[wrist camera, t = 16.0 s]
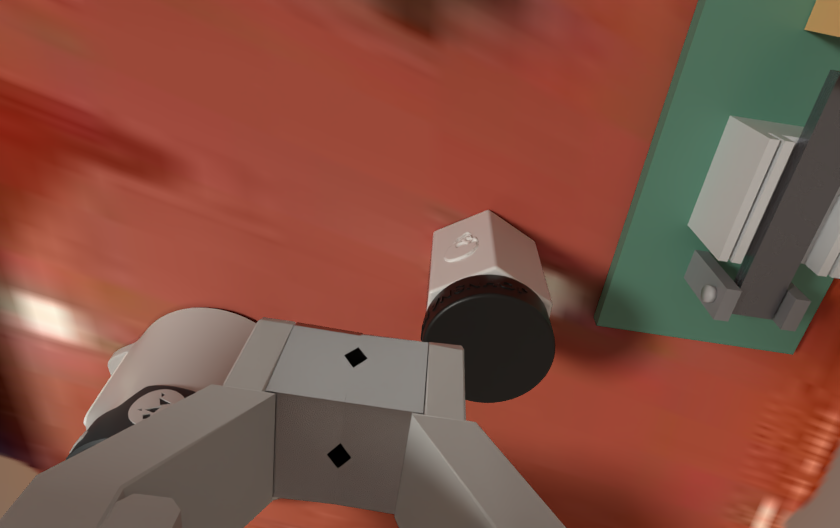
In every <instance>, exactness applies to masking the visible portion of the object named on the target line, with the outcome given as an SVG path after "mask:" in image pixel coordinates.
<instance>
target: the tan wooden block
mask: <svg viewBox="0 0 840 528" xmlns="http://www.w3.org/2000/svg"><path fill="white" fill-rule="evenodd" d="M804 30H808V31H813V32H818V33H822V34H827V35H832V36H837V37H840V0H816V3H815V5H814V7H813V10H812V12H811V15H810V17H809V19H808V22H807V24H806V26H805V29H804Z"/></svg>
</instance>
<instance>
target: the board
mask: <svg viewBox="0 0 840 528" xmlns="http://www.w3.org/2000/svg"><path fill="white" fill-rule="evenodd" d="M815 3H816V0H698V3H697V6H696V9H695V12H694V15H693V18H692V21H691V24H690V27H689V30H688V33H687V36H686V39H685V42H684V45H683V48H682V51H681V54H680V57H679V61H678V64H677V67H676V70H675V73H674V76H673V79H672V82H671V85H670V88H669V91H668V94H667V97H666V100H665V103H664V106H663V109H662V112H661V115H660V118H659V121H658V124H657V127H656V130H655V133H654V136H653V139H652V142H651V145H650V148H649V151H648V154H647V157H646V160H645V163H644V166H643V169H642V172H641V175H640V178H639V181H638V184H637V187H636V190H635V194H634V197H633V200H632V203H631V206H630V209H629V212H628V215H627V218H626V221H625V224H624V227H623V230H622V233H621V236H620V239H619V242H618V245H617V248H616V251H615V254H614V257H613V260H612V263H611V266H610V269H609V272H608V275H607V278H606V281H605V284H604V287H603V290H602V293H601V296H600V299H599V302H598V305H597V308H596V311H595V314H594V320H595V322H596V325H597V326H603V327H610V328H617V329H624V330H630V331H637V332H644V333H651V334H658V335H664V336H671V337H678V338H685V339H691V340H698V341H705V342H712V343H719V344H725V345H732V346H739V347H746V348H752V349H759V350H766V351H773V352H779V353H786V354H793V353H794V351H795V350H796V348H797V346H798V344H799V342H800V340H801V339H802V337H803V335H804V333H805V331H806V329H807V327H808V326H809V324H810V322H811V320H812V318H813V316H814V314H815V313H816V311H817V309H818V307H819V305H820V303H821V301H822V300H823V298H824V296H825V294H826V292H827V290H828V288H829V287H830V285H831V283H832V281H833V279H834V278H838V279H840V187H839V189H838V191H837V193H836V195H835V197H834V199H833V201H832V203H831V205H830V207H829V208H828V210H827V212H826V214H825V216H824V218H823V220H822V222H821V224H820V226H819V228H818V230H817V232H816V234H815V236H814V238H813V240H812V242H811V244H810V246H809V248H808V250H807V252H806V254H805V256H804V257H803V259H802V261H801V263H800V265H799V267H798V269H797V271H796V273H795V275H794V277H793V279H792V281H791V283H790V285H789V287H788V289H787V291H786V293H785V295H784V297H783V299H782V301H781V303H780V305H779V306H778V308H777V310H776V312H775V314H774V316H773V318H772V320H770V319H763V318H756V317H749V316H743V315H736V314H732V312H733V310H734V308H735V305H736V303H737V301H738V299H739V297H740V295H741V292H742V290H741V289H740V288H739V287H738V286H737V285H736V283H735V282H734V280H735V278H736V275H737V273H738V271H739V269H740V267H741V264H742V262H743V260H744V258H745V256H746V253H747V251H748V249H749V247H750V245H751V242H752V240H753V238H754V236H755V234H756V232H757V229H758V227H759V225H760V223H761V221H762V218H763V216H764V214H765V212H766V210H767V207H768V205H769V203H770V201H771V199H772V196H773V194H774V192H775V190H776V188H777V185H778V183H779V181H780V179H781V177H782V174H783V172H784V170H785V168H786V166H787V164H788V161H789V159H790V157H791V155H792V153H793V150H794V148H795V146H796V144H797V142H798V139H799V137H800V135H801V133H802V131H803V128H804V126H805V124H806V122H807V120H808V117H809V115H810V113H811V111H812V109H813V107H814V104H815V102H816V100H817V98H818V96H819V93H820V91H821V89H822V87H823V85H824V82H825V80H826V78H827V76H828V74H829V71H830V70H836V71H840V37H837V36H832V35H827V34H822V33H818V32H813V31H808V30H804V29H805V26H806V24H807V22H808V19H809V17H810V15H811V12H812V10H813V7H814V5H815Z"/></svg>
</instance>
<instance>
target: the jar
mask: <svg viewBox="0 0 840 528" xmlns="http://www.w3.org/2000/svg"><path fill="white" fill-rule="evenodd" d="M551 310H552V301H551V297H550V294H549V290H548V286H547V283H546V279H545V276H544V272H543V269H542V265H541V262H540V258H539V254H538V251H537V247H536V244H535V242H534V241H533V240H532V239H530V238H529V237H528V236H526V235H525V234H523V233H522V232H520V231H519V230H517V229H516V228H515V227H513V226H512V225H510V224H509V223H507V222H506V221H504V220H503V219H502V218H500V217H499V216H497V215H496V214H494V213H493V212H491V211H490V210H486V211H484V212H481V213H479V214H476V215H474V216H471V217H469V218H466V219H464V220H461V221H459V222H456V223H454V224H451V225H449V226H446V227H444V228H441V229H439V230H437V231H435V232H434V233H433V241H432V250H431V260H430V269H429V278H428V289H427V301H426V313H425V318H424V321H423V325H422V332H421V340H422V342H428V344H429V342H434V343H443V344H452V345H461V346H462V347H463V349H464V369H465V400H469V401H474V402H481V403H494V402H501V401H506V400H510V399H513V398H516V397H518V396H521V395H523V394H525V393H526V392H528V391H530V390H531V389H532V388H534V387H535V386H536V385H537V384H538V383H539V382H540V381H541V380H542V379H543V378H544V377H545V376H546V374H547V373H548V371H549V369H550V367H551V365H552V362H553V359H554V354H555V339H554V334H553V330H552V327H551V323H550V319H549V318H550V314H551Z"/></svg>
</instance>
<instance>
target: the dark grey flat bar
mask: <svg viewBox="0 0 840 528" xmlns="http://www.w3.org/2000/svg"><path fill="white" fill-rule="evenodd" d="M839 187H840V71H836V70H830V71H829V74H828V76H827V78H826V80H825V82H824V85H823V87H822V89H821V91H820V93H819V96H818V98H817V100H816V102H815V104H814V107H813V109H812V111H811V113H810V115H809V117H808V120H807V122H806V124H805V126H804V128H803V131H802V133H801V135H800V137H799V139H798V142H797V144H796V146H795V148H794V150H793V153H792V155H791V157H790V159H789V161H788V164H787V166H786V168H785V170H784V172H783V174H782V177H781V179H780V181H779V183H778V185H777V188H776V190H775V192H774V194H773V196H772V199H771V201H770V203H769V205H768V207H767V210H766V212H765V214H764V216H763V218H762V221H761V223H760V225H759V227H758V229H757V232H756V234H755V236H754V238H753V240H752V242H751V245H750V247H749V249H748V251H747V253H746V256H745V258H744V260H743V262H742V264H741V267H740V269H739V271H738V273H737V275H736V278H735V280H734V282H735V283H736V285H737V286H738V287H739V288H740V289H741V290H742V292H741V295H740V297H739V299H738V301H737V303H736V305H735V308H734V310H733V312H732V314H736V315H743V316H749V317H756V318H763V319H770V320H772V318H773V316H774V314H775V312H776V310H777V308H778V306H779V305H780V303H781V301H782V299H783V297H784V295H785V293H786V291H787V289H788V287H789V285H790V283H791V281H792V279H793V277H794V275H795V273H796V271H797V269H798V267H799V265H800V263H801V261H802V259H803V257H804V256H805V254H806V252H807V250H808V248H809V246H810V244H811V242H812V240H813V238H814V236H815V234H816V232H817V230H818V228H819V226H820V224H821V222H822V220H823V218H824V216H825V214H826V212H827V210H828V208H829V207H830V205H831V203H832V201H833V199H834V197H835V195H836V193H837V191H838V189H839Z"/></svg>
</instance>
